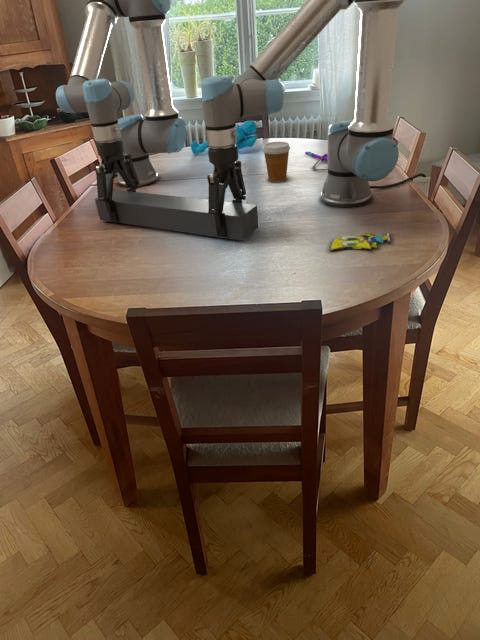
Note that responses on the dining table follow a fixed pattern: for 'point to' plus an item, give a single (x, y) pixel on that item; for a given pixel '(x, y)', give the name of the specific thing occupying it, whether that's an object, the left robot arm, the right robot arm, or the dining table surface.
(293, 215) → the dining table surface
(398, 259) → the dining table surface
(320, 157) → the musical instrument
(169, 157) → the dining table surface
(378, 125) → the right robot arm
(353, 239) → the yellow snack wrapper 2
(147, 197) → the thick board
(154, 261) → the dining table surface
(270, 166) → the disposable coffee cup
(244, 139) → the toy
